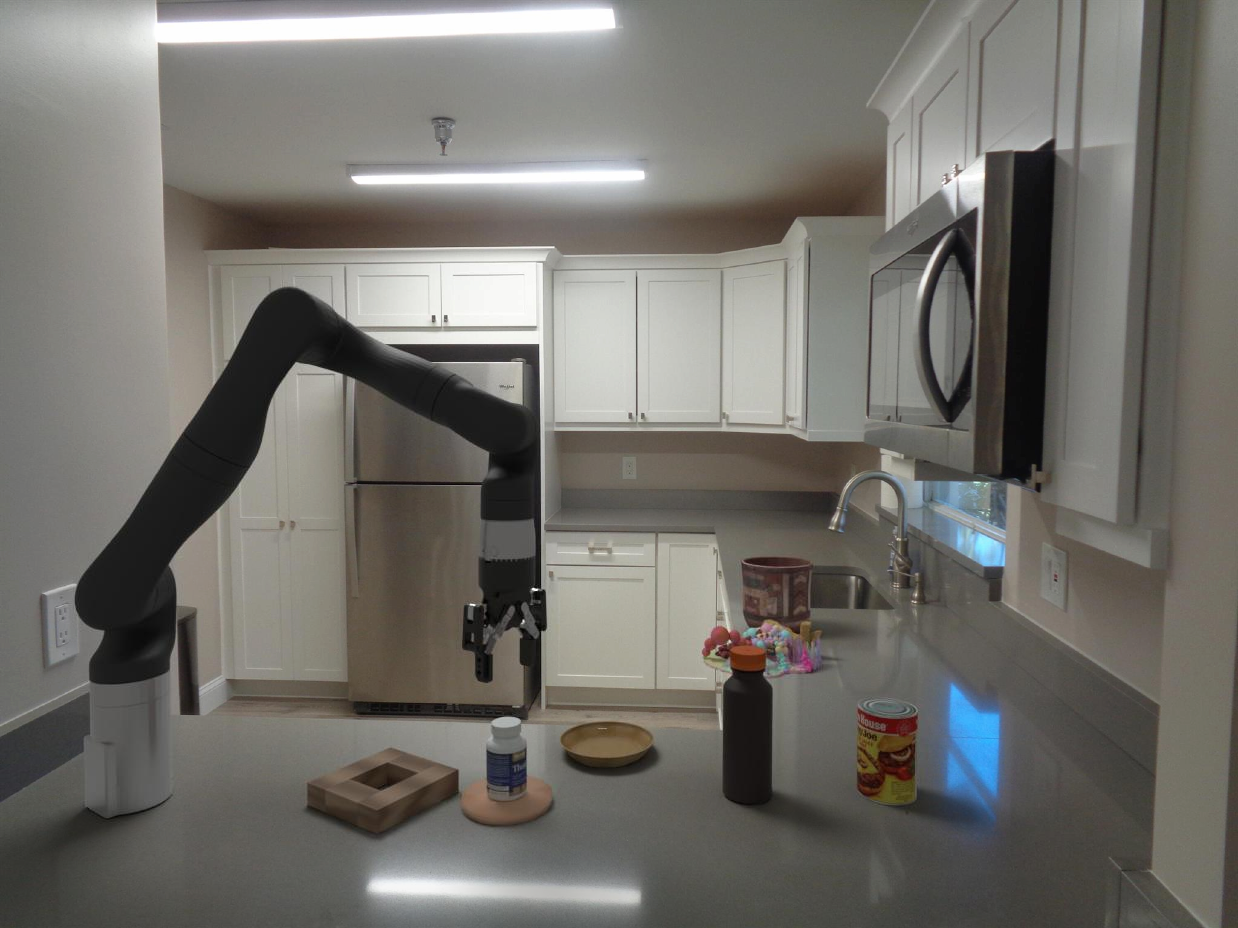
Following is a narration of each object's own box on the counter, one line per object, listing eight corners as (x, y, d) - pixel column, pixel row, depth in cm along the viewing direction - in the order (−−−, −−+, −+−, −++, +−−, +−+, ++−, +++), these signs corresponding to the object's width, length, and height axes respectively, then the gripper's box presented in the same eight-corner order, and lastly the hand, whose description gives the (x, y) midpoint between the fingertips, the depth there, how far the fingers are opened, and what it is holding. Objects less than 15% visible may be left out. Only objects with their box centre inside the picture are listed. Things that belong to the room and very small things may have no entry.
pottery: (797, 644, 183) (798, 569, 182) (730, 634, 192) (730, 562, 192) (821, 629, 197) (822, 559, 197) (757, 620, 207) (758, 553, 206)
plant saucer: (542, 765, 116) (542, 748, 116) (582, 730, 130) (582, 715, 129) (634, 781, 110) (634, 763, 110) (666, 743, 124) (666, 727, 124)
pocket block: (377, 834, 95) (377, 810, 95) (307, 804, 103) (307, 782, 103) (458, 790, 107) (458, 769, 107) (390, 767, 115) (390, 747, 114)
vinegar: (775, 786, 108) (776, 645, 108) (768, 808, 102) (769, 659, 101) (727, 779, 110) (728, 641, 110) (717, 800, 104) (718, 654, 103)
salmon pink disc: (511, 834, 95) (511, 824, 95) (442, 808, 102) (442, 799, 102) (569, 796, 105) (569, 787, 105) (503, 775, 112) (503, 767, 112)
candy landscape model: (742, 642, 186) (742, 604, 186) (837, 658, 172) (837, 617, 172) (689, 667, 166) (689, 625, 165) (791, 688, 152) (792, 642, 151)
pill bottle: (519, 804, 100) (518, 730, 100) (480, 800, 102) (479, 727, 101) (532, 786, 106) (532, 716, 105) (495, 782, 107) (495, 713, 106)
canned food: (848, 780, 110) (848, 697, 110) (901, 778, 111) (902, 696, 110) (870, 806, 102) (871, 717, 102) (927, 804, 103) (928, 715, 103)
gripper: (520, 544, 110) (519, 656, 111) (447, 556, 98) (447, 682, 99) (562, 548, 106) (561, 665, 107) (491, 562, 94) (491, 693, 95)
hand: (506, 673), depth 103 cm, fingers open, 8 cm apart
